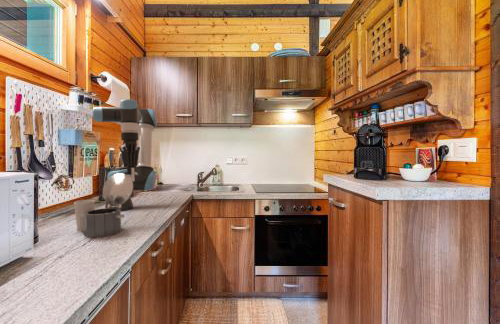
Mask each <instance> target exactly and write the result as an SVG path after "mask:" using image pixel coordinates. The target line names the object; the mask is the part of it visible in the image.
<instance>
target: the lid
mask: <svg viewBox="0 0 500 324" xmlns="http://www.w3.org/2000/svg"><path fill="white" fill-rule="evenodd" d="M107 179H108V178H107ZM107 179H106V181H105V183H104V185H103V187H102V197H103V200H104V201H105V202H107V203H108V206H107V207H108V208H110V205H119V207H118V208H121V206H122V205H121V204H123V203H124V202H126V201H127V200H128V199H129V198H130V197H131V196H132V194H133V192H134V191H133V182H132V179H131V178H130V177H129V176H128V175H126V174H123V173H118V174H115V175H113V176H111V177H110V178H109V179H108V180H107Z"/></svg>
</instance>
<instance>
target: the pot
mask: <svg viewBox="0 0 500 324" xmlns="http://www.w3.org/2000/svg"><path fill="white" fill-rule="evenodd" d="M110 207H117V208H105V207H104V208H96V209H95V208H94V210H90V211H87V212H85V213H83V214H81V217H84V230H83V235H84V237H86V238H90V237H91V239H95V238H96V239H97V237H98V238H104V237H105V238H106V236H107V237H109V236H114V235H117V234H119V233H121V231H122V219H123V218H125V214H121V213H122V211H121V209H120V208H118V207H119V206H110Z"/></svg>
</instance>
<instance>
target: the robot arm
mask: <svg viewBox="0 0 500 324" xmlns="http://www.w3.org/2000/svg"><path fill="white" fill-rule="evenodd" d="M92 119H93V121H94V122H98V123H113V124H114V123H116V124H117V125H120V131H121V133H120V139H121V141H123V142H122V146H119V150H120V154H121V159H122V165H123V167H124V168H125V169H119V170H113V171H108V173H107V179H106V181H107V180H108V179H109V178H110V177H111V176H113V175H115V174H118V173H123V174H126V175H128V176H129V177H130V178H131V179H132V182H133V191H132V192H135V191H136V192H137V191H145V192H146V191H151V190H153V189H154V188H155V187H156V186H155V185H156V182H157V181H156V180H157V171H156V170H155V168H154V167H153V166H152V146H153V145H152V143H153V142H152V140H153V139H152V138H153V136H152V135H153V131H155V128H156V127H158V124H157V123H158V122H157V115H156V112H155V109H152V108H139V106H138V101H137V100H135V99H129V98H126V99H121V100H120V104H119V106H116V107H115V106H94V107H93V108H92ZM105 202H106V201H105ZM121 205H122V206H121V208H120V209H121V212H123V211H128V210H131V209H133V208H134V202H133V200H132V198H131V196H130V198H129V199H128V200H127V201H126V202H124V203H123V204H121ZM107 206H108V203H107V202H106V203H105V206H104V208H108V207H107ZM110 206H119V205H110ZM110 208H117V207H110Z"/></svg>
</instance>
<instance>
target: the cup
mask: <svg viewBox="0 0 500 324" xmlns="http://www.w3.org/2000/svg"><path fill="white" fill-rule="evenodd" d="M95 203H96V200H94V199H84V200H77V201H74V202H73V205H74V206H73V207H74V214H75V223H76V230H77V231H82V232H84V217H81V214H83V213H85V212H87V211H90V210H95V208H96V207H95Z"/></svg>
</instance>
